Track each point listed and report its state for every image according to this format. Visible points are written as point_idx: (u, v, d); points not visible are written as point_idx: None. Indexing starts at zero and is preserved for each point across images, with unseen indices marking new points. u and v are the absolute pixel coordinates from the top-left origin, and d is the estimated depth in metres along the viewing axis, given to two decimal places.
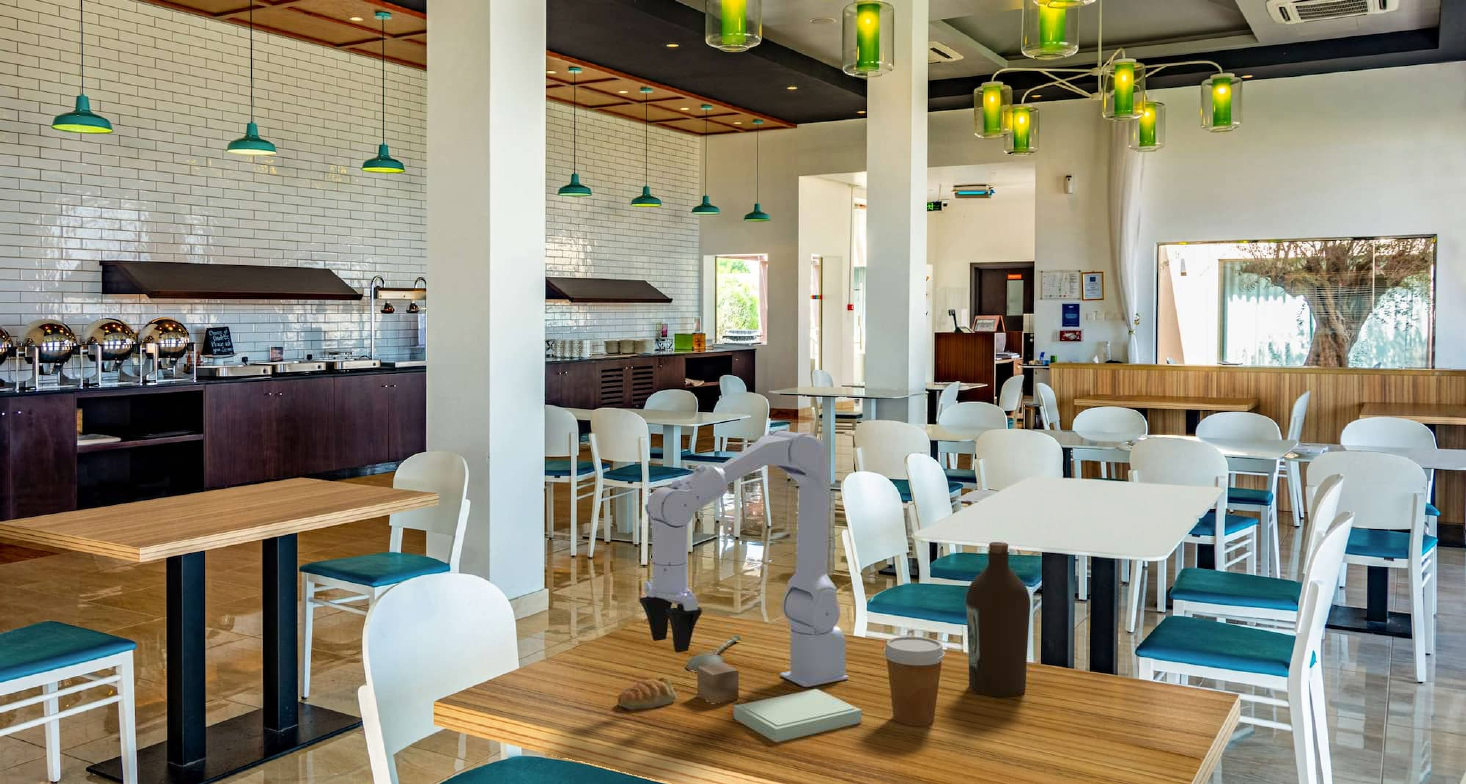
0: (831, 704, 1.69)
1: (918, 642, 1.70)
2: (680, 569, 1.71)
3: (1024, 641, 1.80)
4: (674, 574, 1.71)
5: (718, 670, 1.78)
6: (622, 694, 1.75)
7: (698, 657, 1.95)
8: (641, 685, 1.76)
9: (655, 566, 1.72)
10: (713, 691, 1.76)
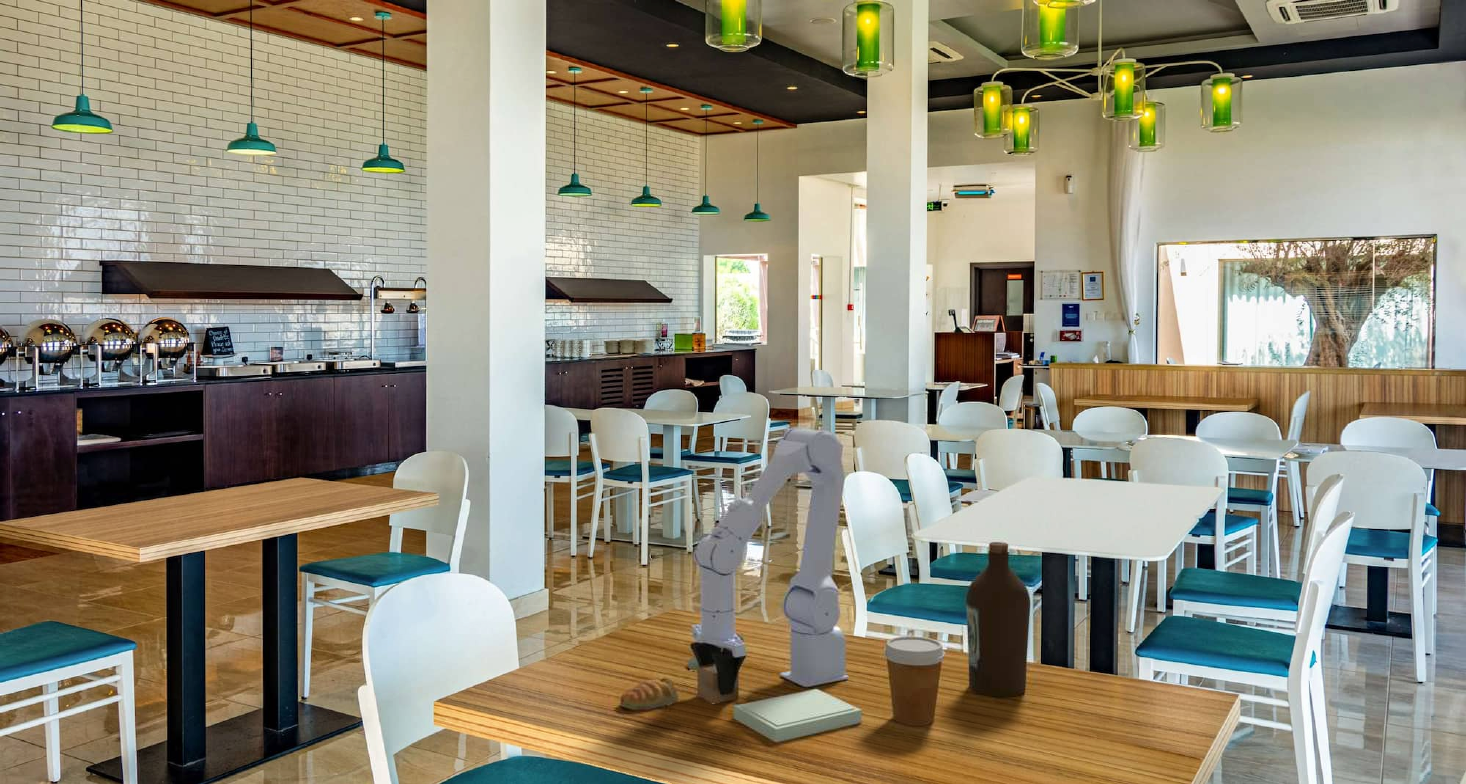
0: (831, 704, 1.69)
1: (918, 642, 1.70)
2: (728, 615, 1.76)
3: (1024, 641, 1.80)
4: (722, 621, 1.76)
5: None
6: (624, 694, 1.74)
7: None
8: (643, 686, 1.75)
9: (704, 612, 1.77)
10: (713, 690, 1.76)
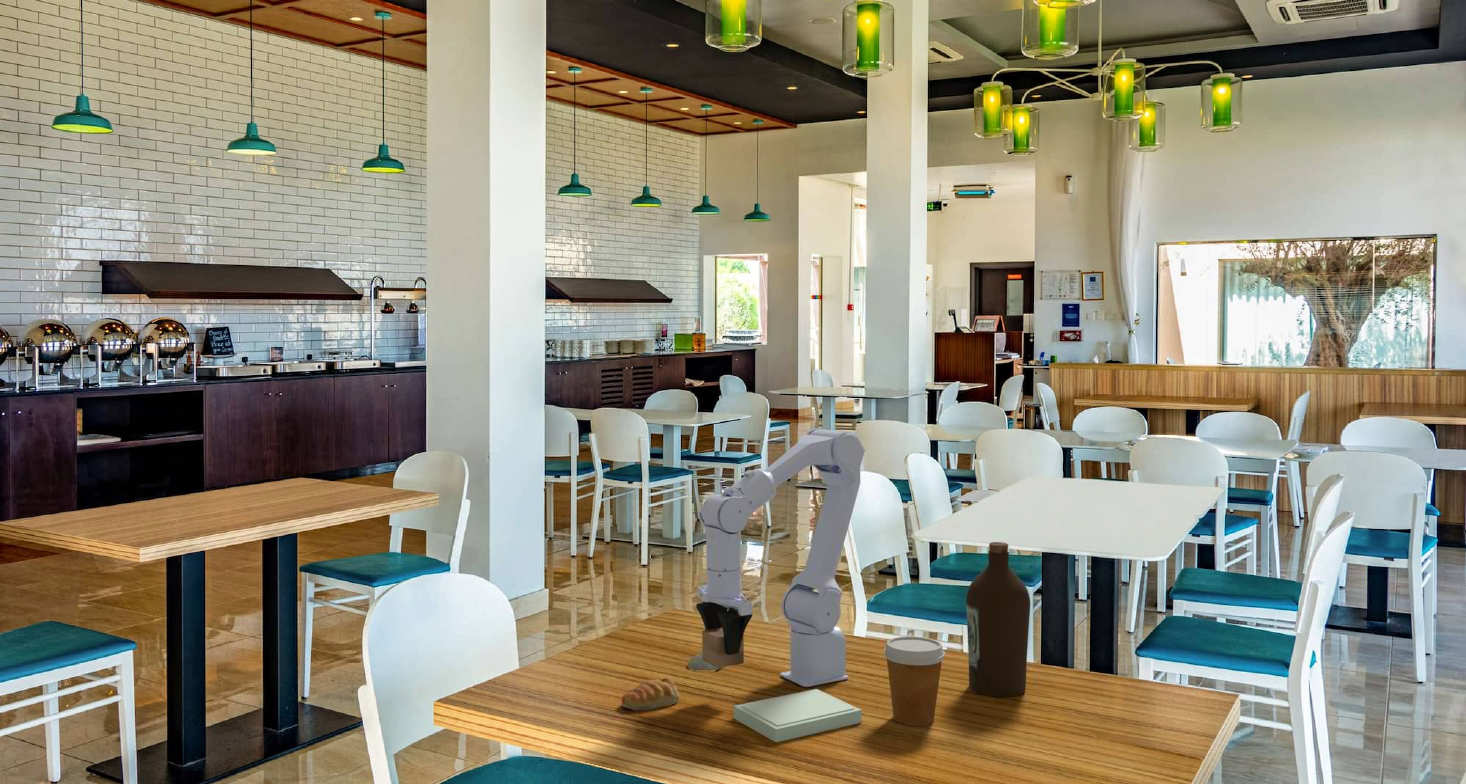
0: (831, 704, 1.69)
1: (918, 642, 1.70)
2: (734, 575, 1.75)
3: (1024, 641, 1.80)
4: (728, 580, 1.75)
5: (723, 634, 1.76)
6: (626, 695, 1.74)
7: (699, 656, 1.96)
8: (645, 686, 1.75)
9: (709, 572, 1.76)
10: (718, 654, 1.74)
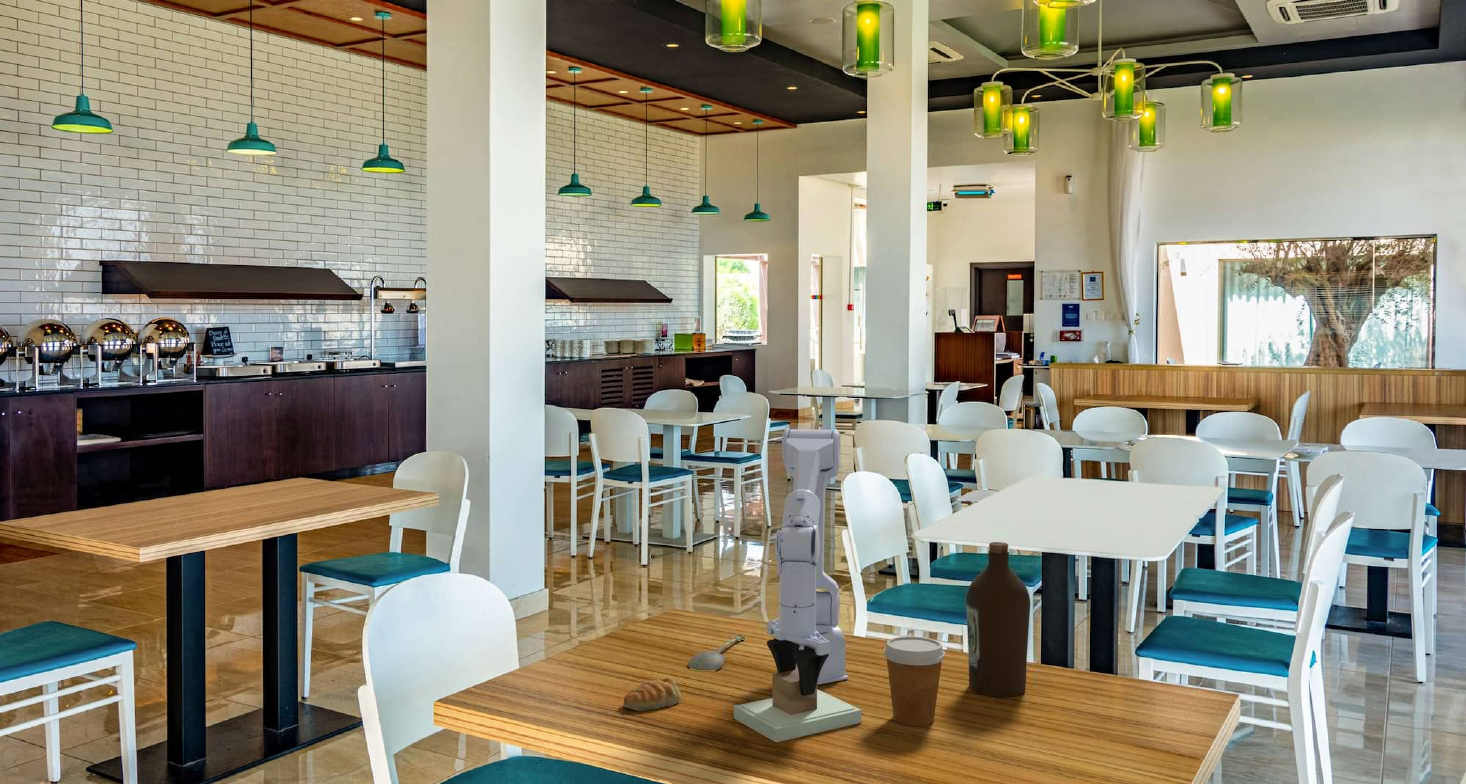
0: (831, 704, 1.69)
1: (918, 642, 1.70)
2: (810, 611, 1.65)
3: (1024, 641, 1.80)
4: (803, 617, 1.65)
5: (795, 678, 1.66)
6: (628, 695, 1.74)
7: (700, 655, 1.96)
8: (646, 686, 1.75)
9: (783, 608, 1.65)
10: (791, 700, 1.64)
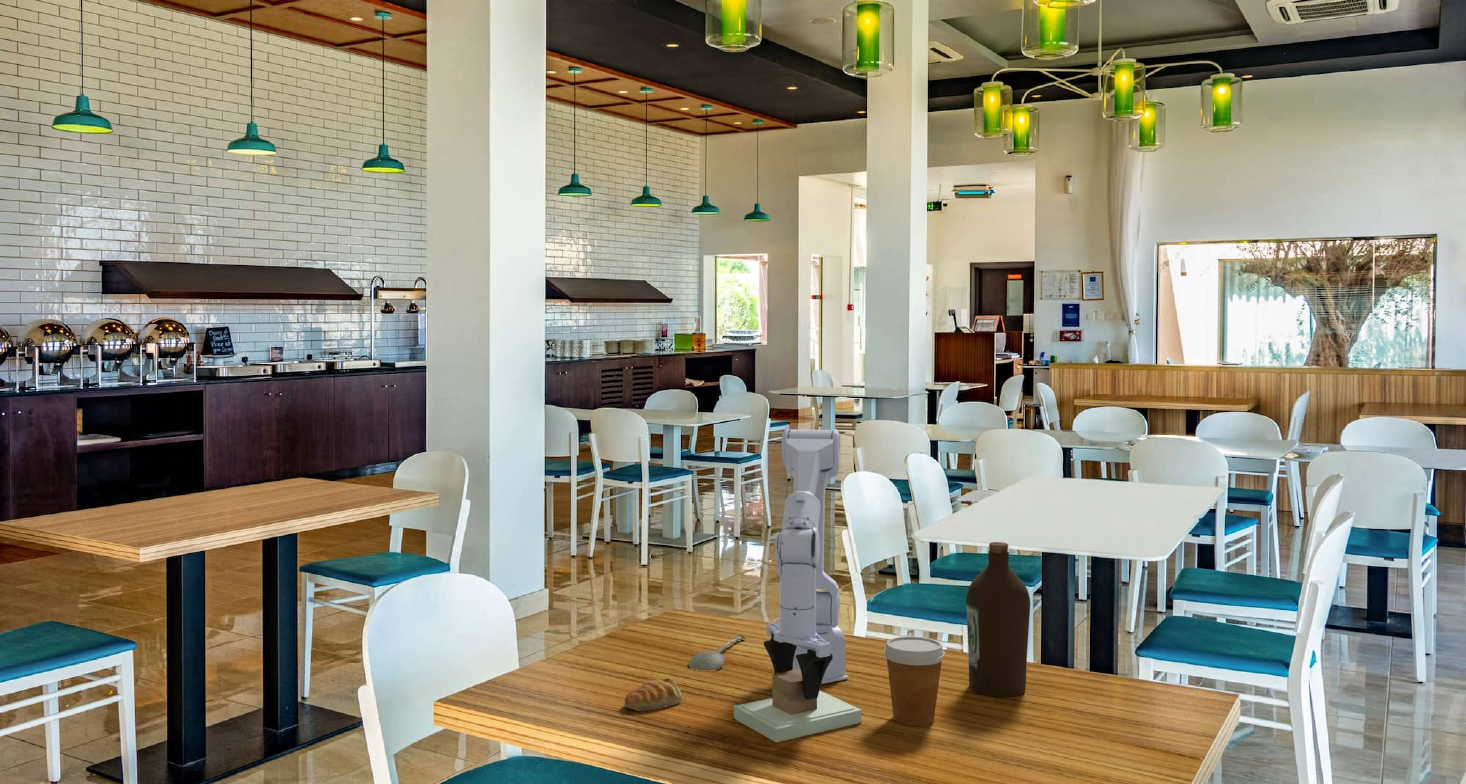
0: (831, 704, 1.69)
1: (918, 642, 1.70)
2: (810, 613, 1.65)
3: (1024, 641, 1.80)
4: (803, 619, 1.65)
5: (795, 678, 1.66)
6: (629, 695, 1.74)
7: (700, 655, 1.97)
8: (648, 686, 1.75)
9: (783, 610, 1.65)
10: (791, 700, 1.64)
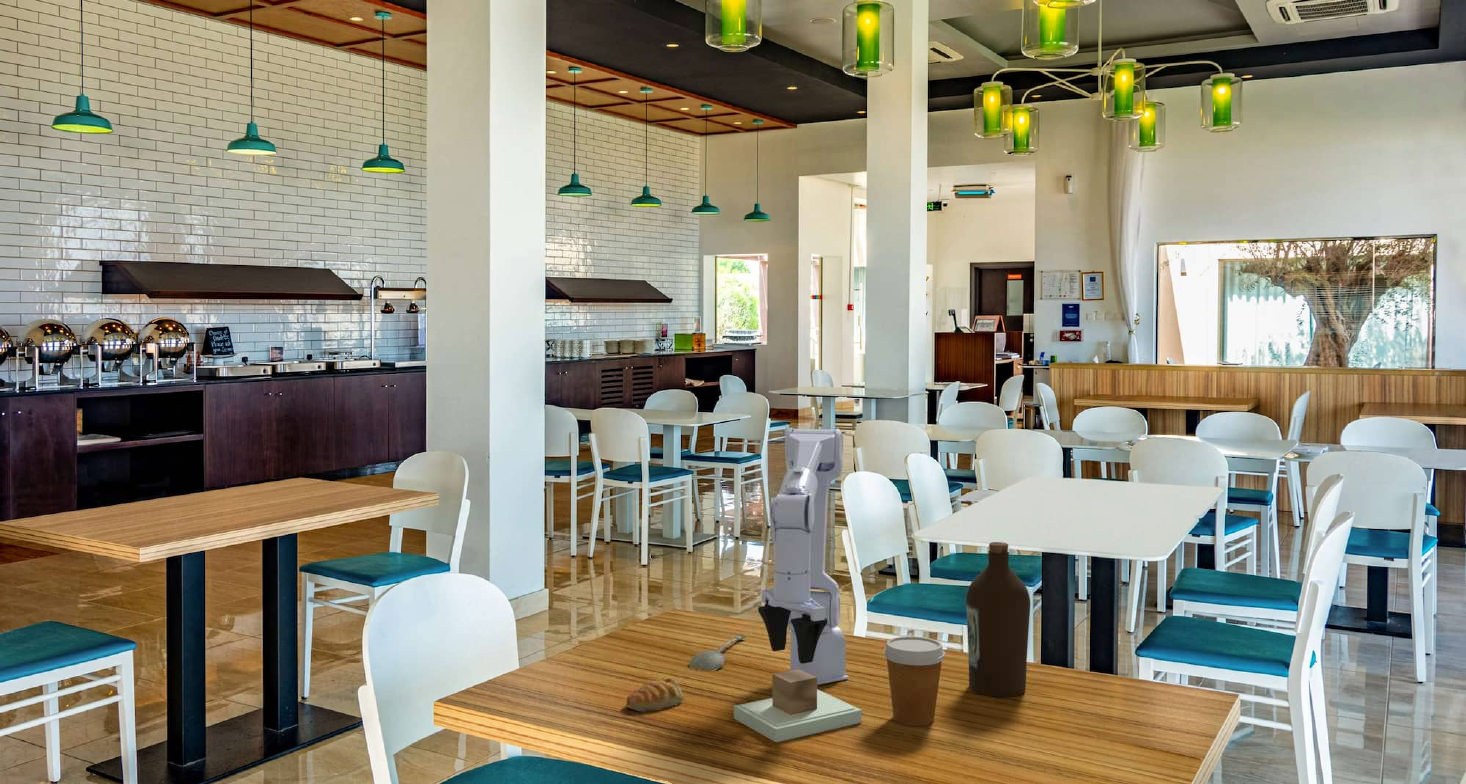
0: (831, 704, 1.69)
1: (918, 642, 1.70)
2: (804, 578, 1.66)
3: (1024, 641, 1.80)
4: (798, 583, 1.66)
5: (795, 678, 1.66)
6: (630, 696, 1.74)
7: (701, 655, 1.97)
8: (649, 686, 1.75)
9: (778, 575, 1.66)
10: (791, 700, 1.64)
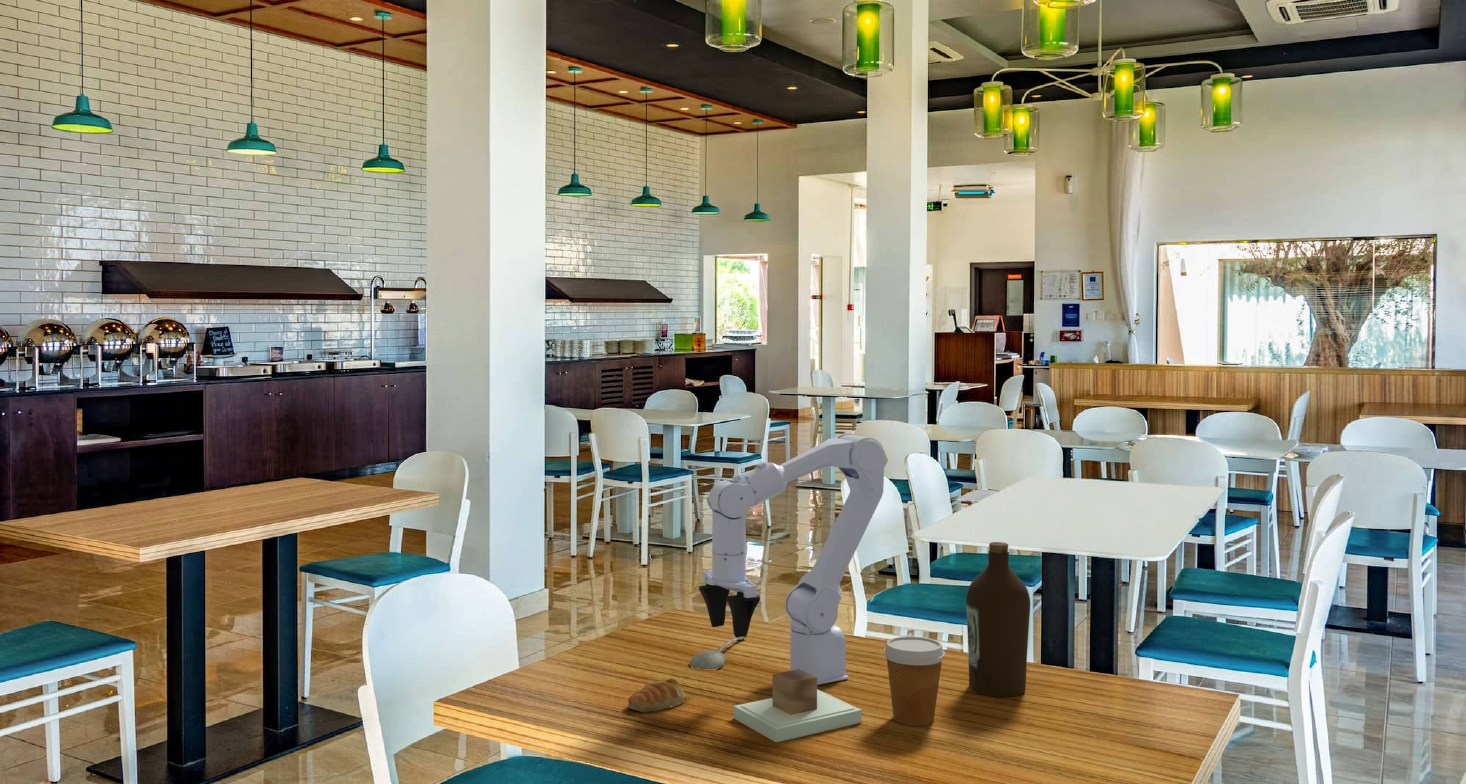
0: (831, 704, 1.69)
1: (918, 642, 1.70)
2: (739, 558, 1.80)
3: (1024, 641, 1.80)
4: (733, 564, 1.80)
5: (795, 678, 1.66)
6: (632, 696, 1.74)
7: (701, 654, 1.97)
8: (651, 687, 1.75)
9: (715, 556, 1.81)
10: (791, 700, 1.64)
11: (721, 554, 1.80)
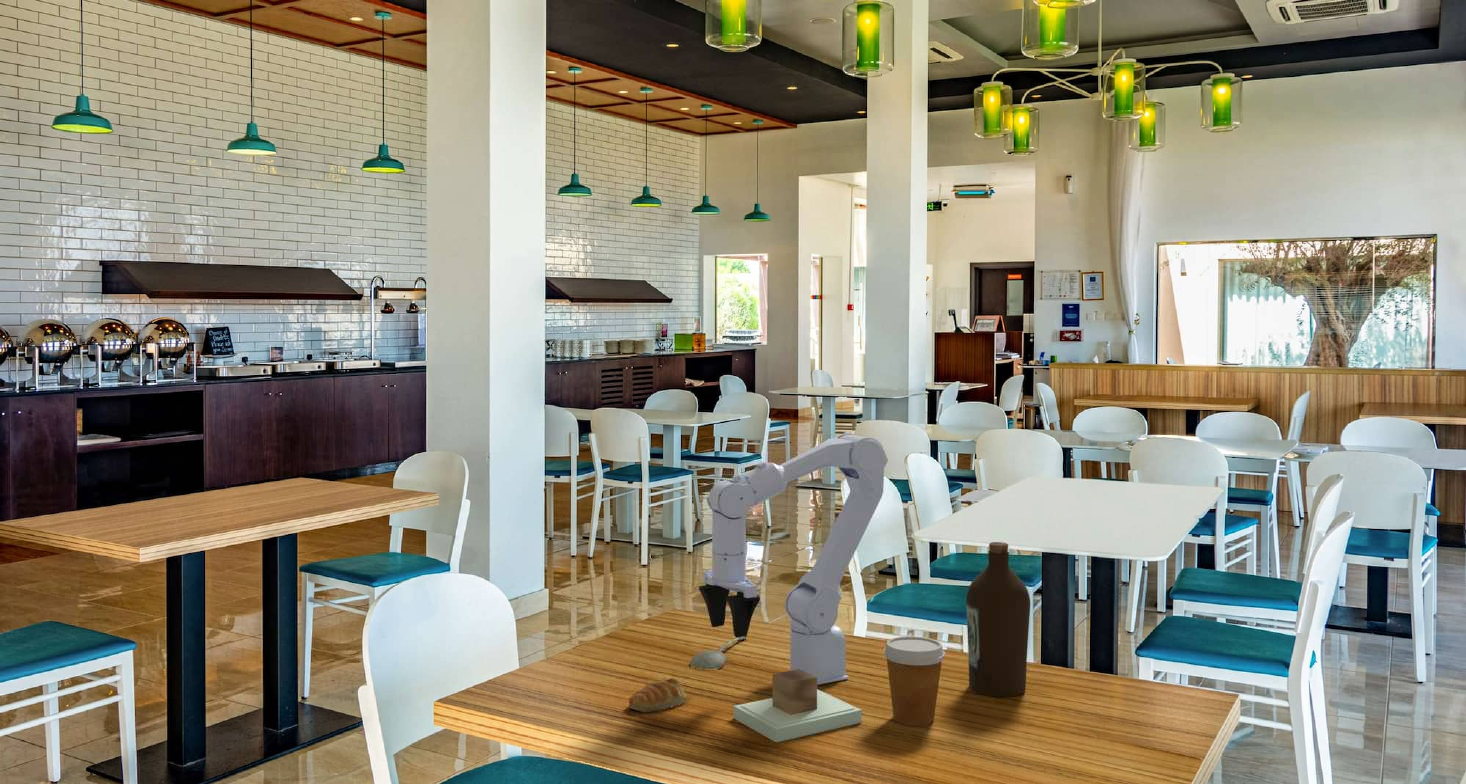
0: (831, 704, 1.69)
1: (918, 642, 1.70)
2: (739, 558, 1.80)
3: (1024, 641, 1.80)
4: (733, 564, 1.80)
5: (795, 678, 1.66)
6: (633, 696, 1.73)
7: (701, 654, 1.97)
8: (652, 687, 1.75)
9: (715, 556, 1.81)
10: (791, 700, 1.64)
11: (721, 554, 1.80)
